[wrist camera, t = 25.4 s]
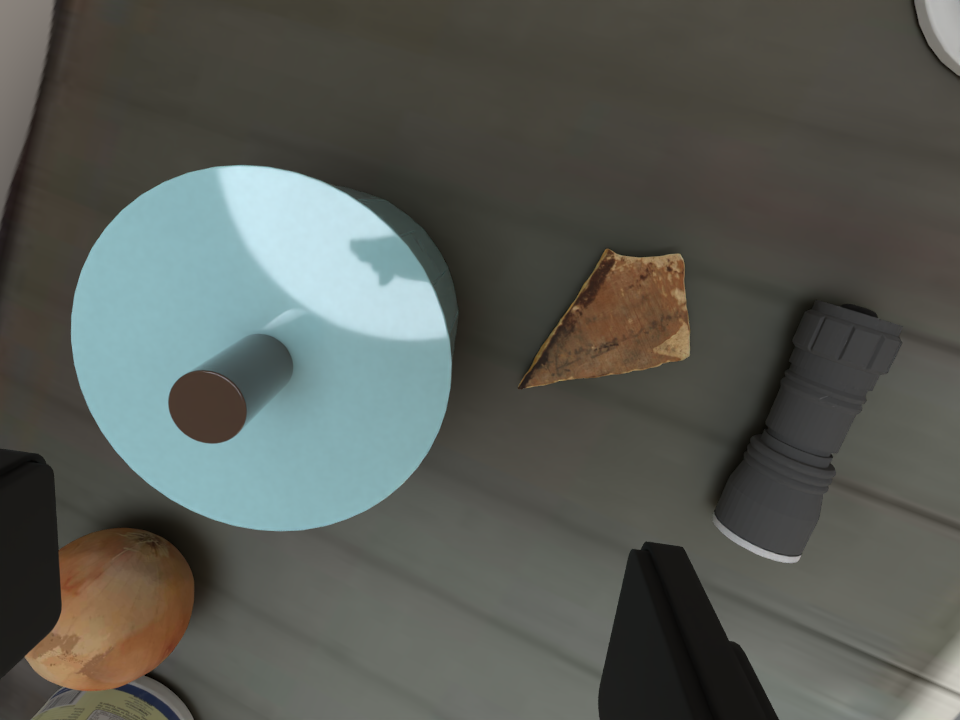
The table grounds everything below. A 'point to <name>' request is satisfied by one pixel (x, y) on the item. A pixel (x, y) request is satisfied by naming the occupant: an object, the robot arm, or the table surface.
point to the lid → (261, 347)
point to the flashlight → (805, 430)
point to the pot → (418, 253)
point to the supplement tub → (116, 703)
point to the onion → (115, 610)
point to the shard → (618, 322)
